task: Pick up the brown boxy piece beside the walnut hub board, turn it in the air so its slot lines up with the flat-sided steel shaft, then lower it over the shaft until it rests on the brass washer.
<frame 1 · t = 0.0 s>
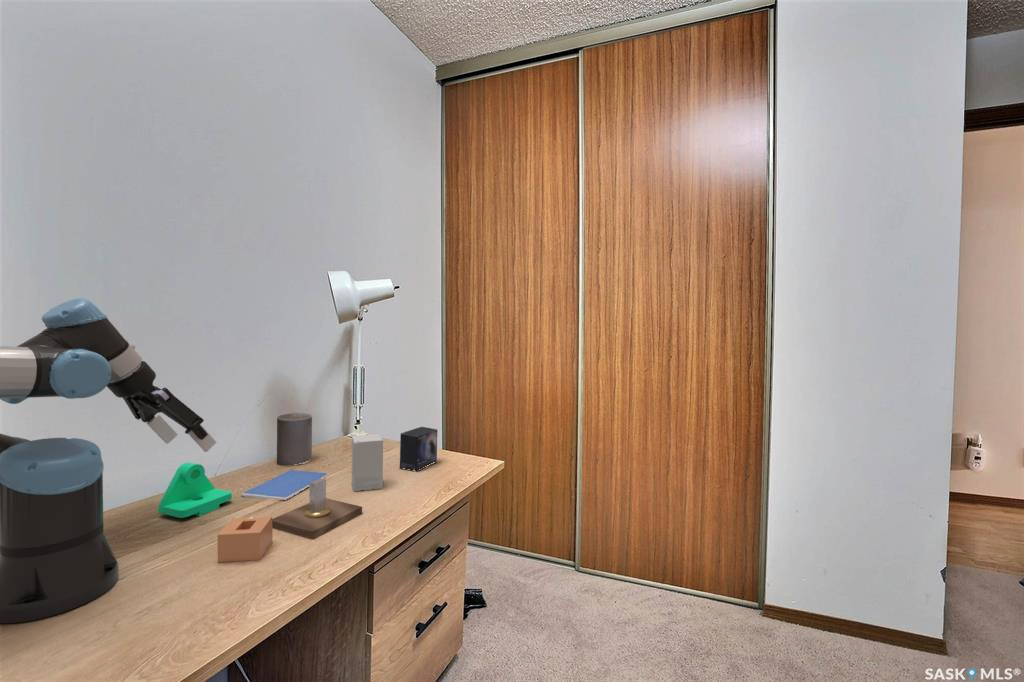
hand: (190, 443, 105), 15 cm above the table, tool tilted 35°, fingers open, 13 cm apart
small box: (418, 466, 141), on the table
brown boxy piece: (246, 551, 89), on the table
pillar candle: (294, 461, 143), on the table
supplement box: (366, 486, 124), on the table
blue flat piece: (288, 487, 123), on the table
camera mount: (197, 510, 107), on the table
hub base: (317, 519, 103), on the table
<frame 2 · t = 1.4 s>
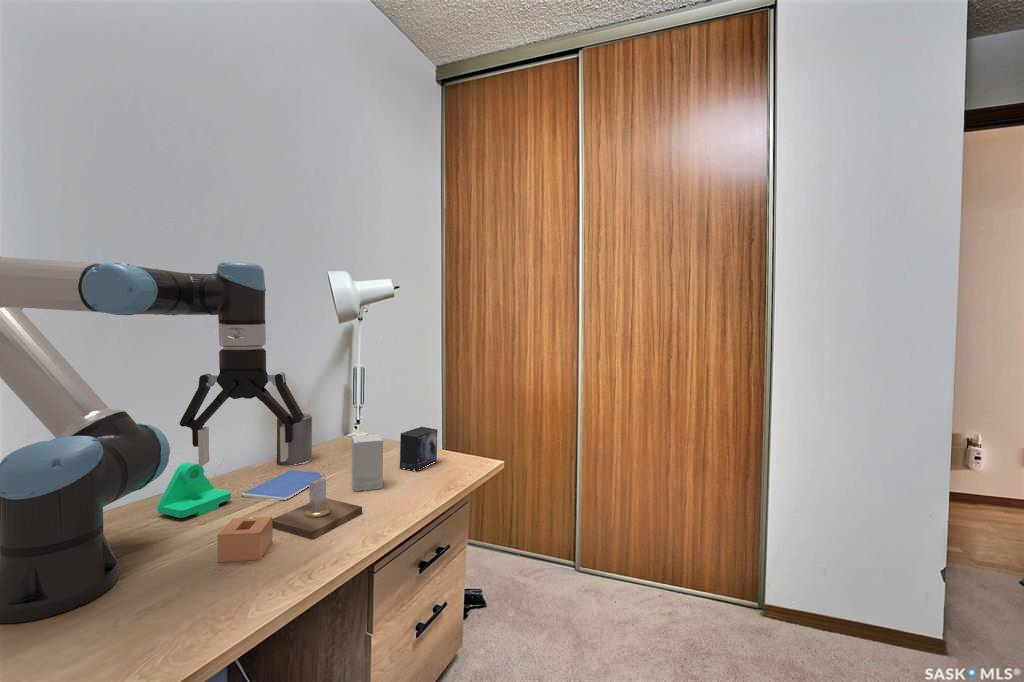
hand: (244, 461, 88), 17 cm above the table, tool pointing down, fingers open, 13 cm apart
nothing on the table moved.
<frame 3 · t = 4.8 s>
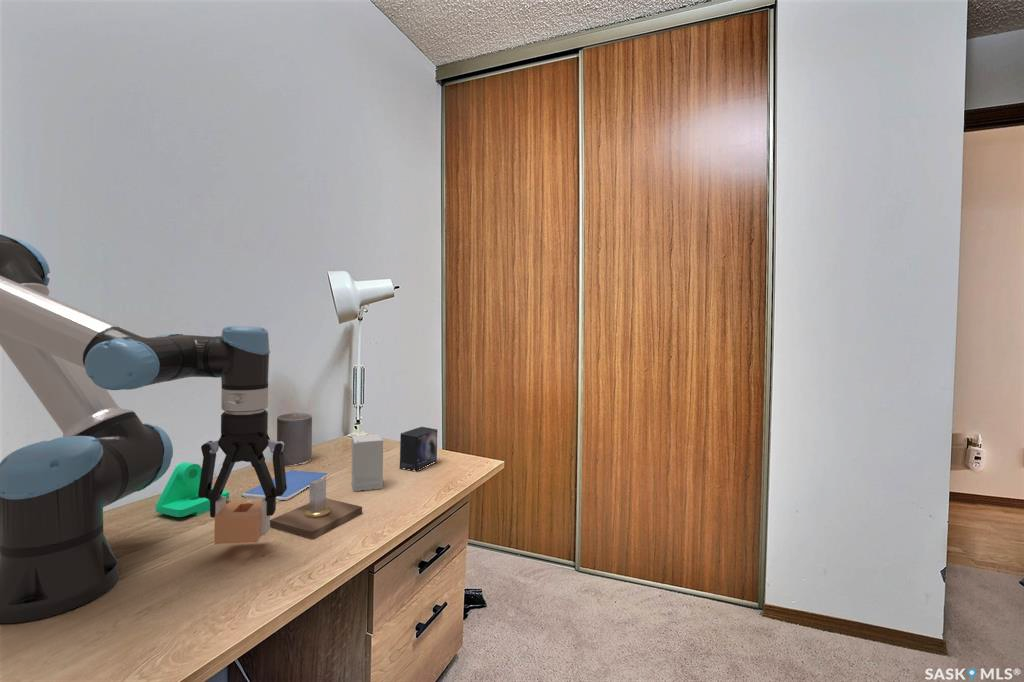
hand: (243, 532, 88), 4 cm above the table, tool pointing down, fingers closed on brown boxy piece, 7 cm apart
brown boxy piece: (243, 534, 88), point 3 cm above the table, touching gripper
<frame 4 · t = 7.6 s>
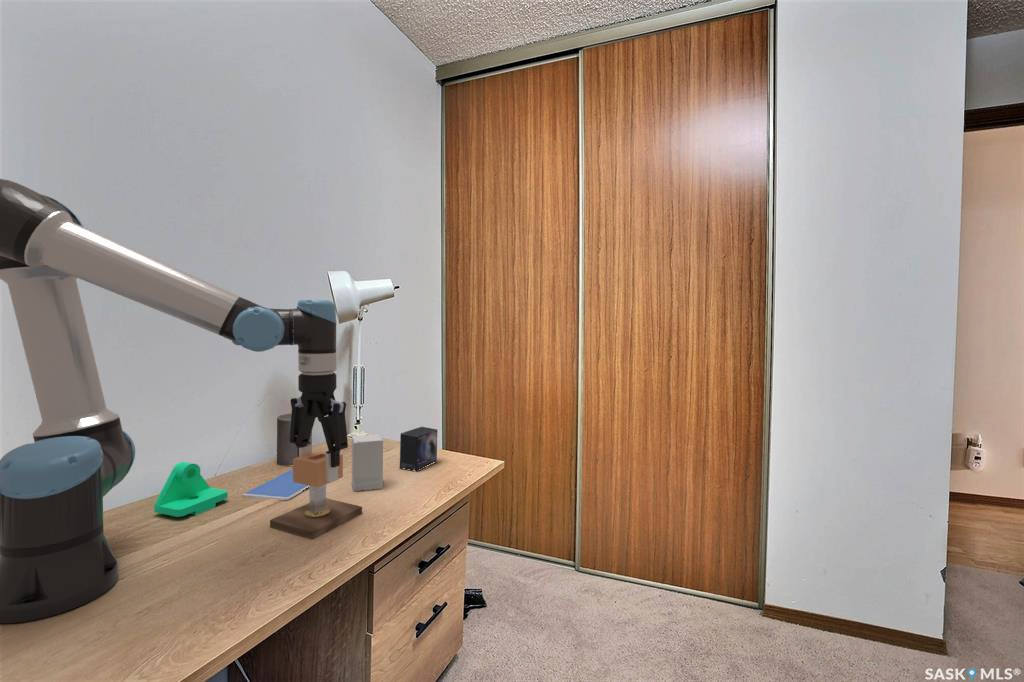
hand: (318, 478, 102), 9 cm above the table, tool pointing down, fingers closed on brown boxy piece, 7 cm apart
brown boxy piece: (318, 479, 102), point 9 cm above the table, touching gripper
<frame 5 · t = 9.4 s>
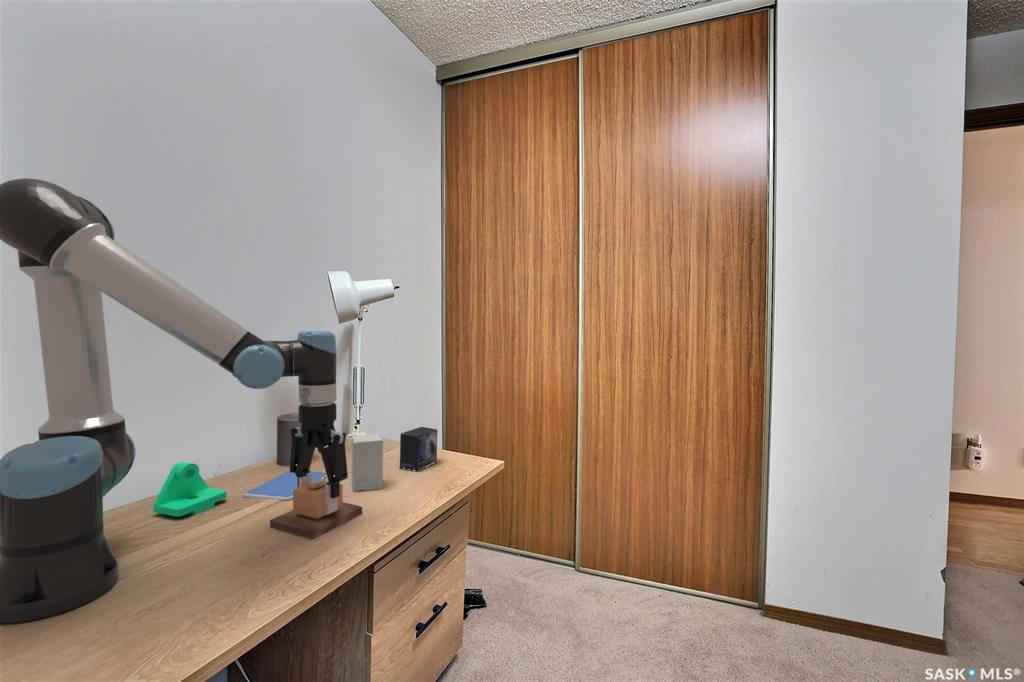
hand: (318, 508, 103), 3 cm above the table, tool pointing down, fingers closed on brown boxy piece, 7 cm apart
brown boxy piece: (318, 509, 103), point 2 cm above the table, touching gripper
when the fingers open (2 cm above the table, at t = 10.3 s): brown boxy piece stays where it is, resting on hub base.
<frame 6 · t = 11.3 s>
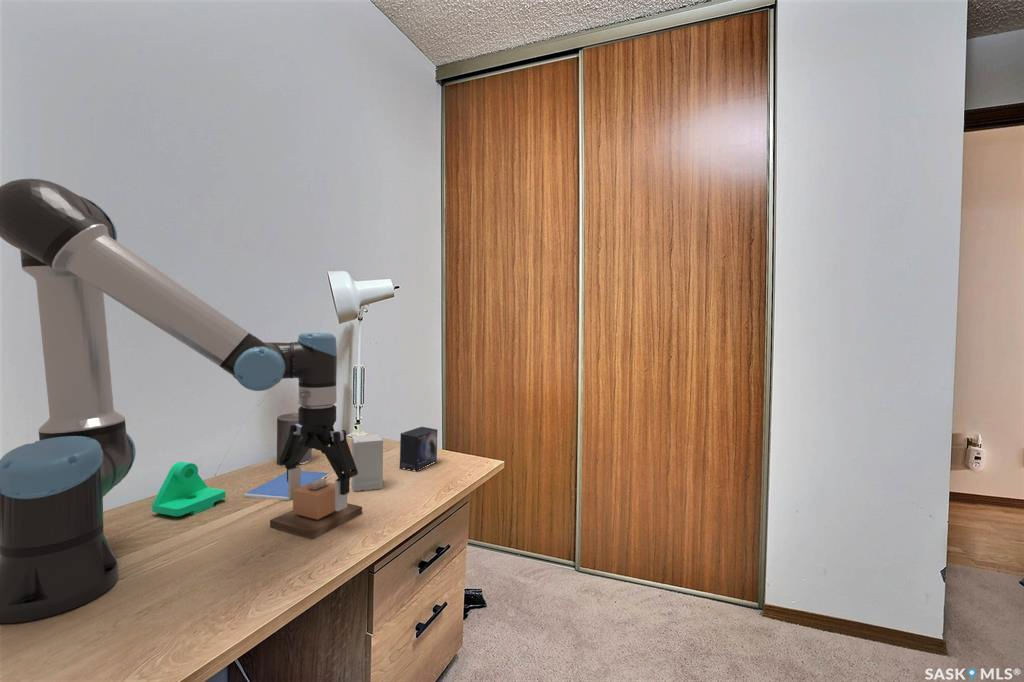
hand: (317, 503, 103), 4 cm above the table, tool pointing down, fingers open, 13 cm apart
brown boxy piece: (318, 510, 103), point 2 cm above the table, touching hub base
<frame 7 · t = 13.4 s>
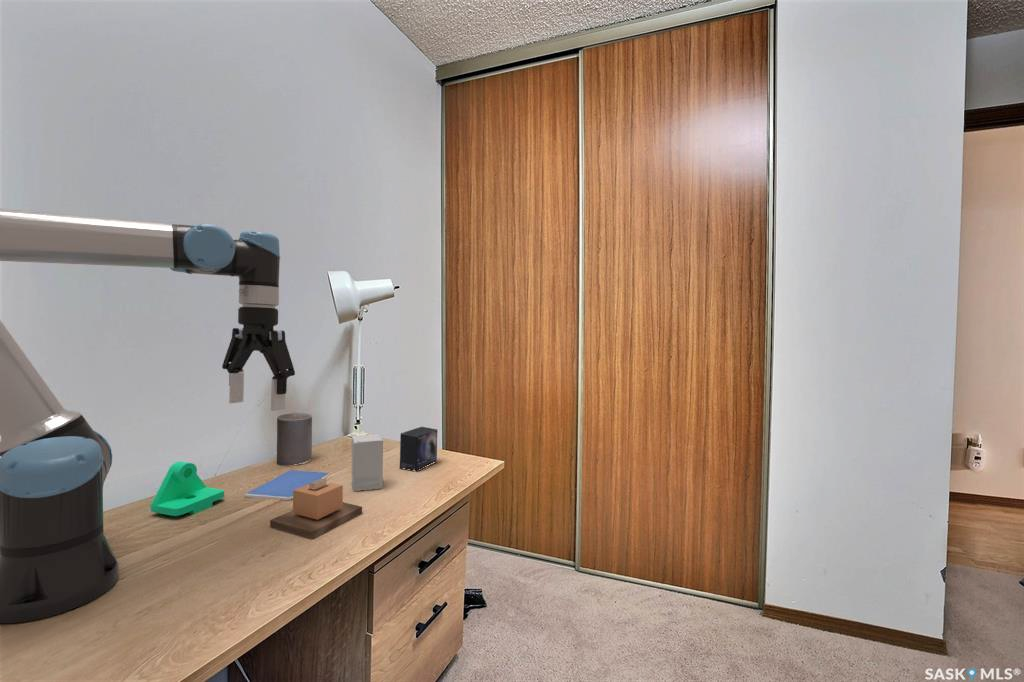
hand: (256, 406, 102), 24 cm above the table, tool pointing down, fingers open, 13 cm apart
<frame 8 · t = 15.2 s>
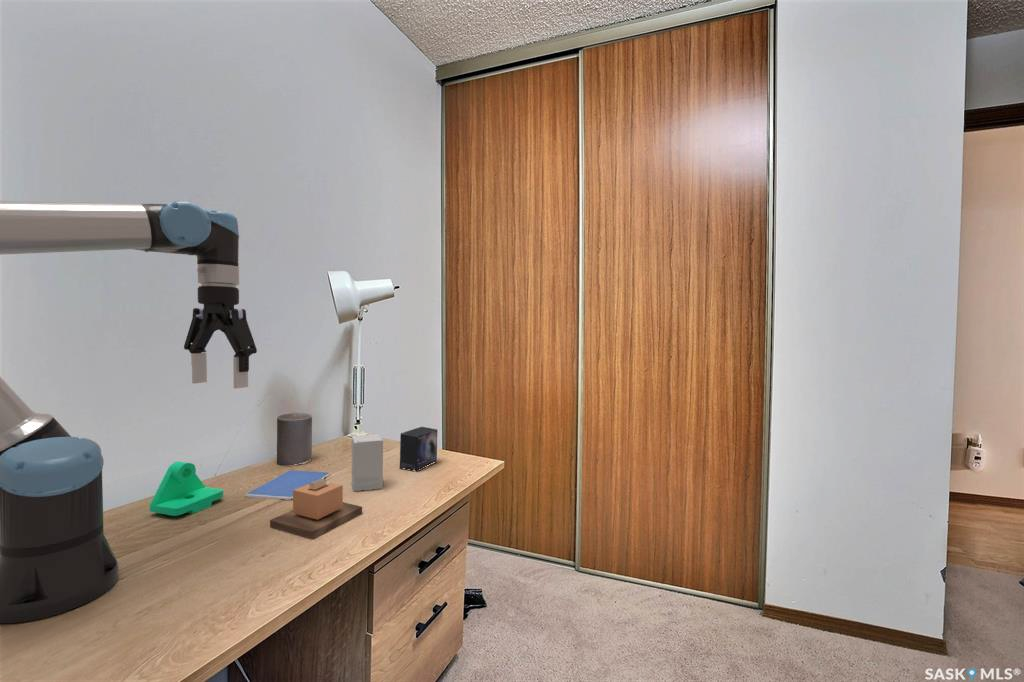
hand: (219, 385, 102), 29 cm above the table, tool pointing down, fingers open, 13 cm apart
at the end: brown boxy piece 0.1 cm off-centre on the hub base, point 2.1 cm above the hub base's base; brown boxy piece tilted 0°; the gripper is holding nothing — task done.
